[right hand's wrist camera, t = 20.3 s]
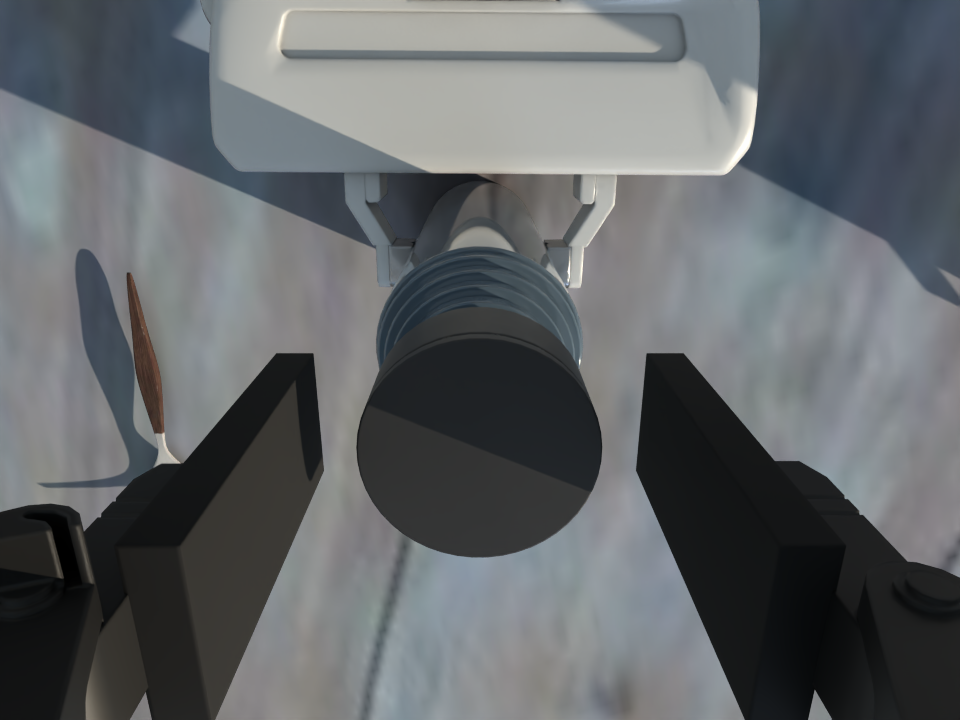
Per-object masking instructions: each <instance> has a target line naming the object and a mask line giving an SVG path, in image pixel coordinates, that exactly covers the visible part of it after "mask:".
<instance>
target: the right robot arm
mask: <svg viewBox="0 0 960 720" xmlns="http://www.w3.org/2000/svg"><path fill="white" fill-rule="evenodd" d="M323 471H324V466H323V455H322V444H321V433H320V421H319V410H318V399H317V388H316V377H315V366H314V355H313V353H276V355H275V356H274V357H273V358H272V359H271V360H270V362H269V363H268V364H267V365H266V366H265V368H264V369H263V370H262V371H261V372H260V373H259V375H258V376H257V377H256V378H255V379H254V381H253V382H252V383H251V384H250V385H249V386H248V388H247V389H246V390H245V391H244V392H243V394H242V395H241V396H240V397H239V398H238V399H237V401H236V402H235V403H234V404H233V405H232V407H231V408H230V409H229V410H228V411H227V412H226V414H225V415H224V416H223V417H222V418H221V420H220V421H219V422H218V423H217V424H216V425H215V427H214V428H213V429H212V430H211V431H210V432H209V434H208V435H207V436H206V437H205V438H204V440H203V441H202V442H201V443H200V444H199V445H198V447H197V448H196V449H195V450H194V451H193V453H192V454H191V455H190V456H189V457H188V458H187V460H186V461H185V462H184V463H161V464H159V465H158V466H156V467H154V468H152V469H151V470H149V471H147V472H146V473H144V474H142V475H140V476H139V477H137V478H135V479H134V480H133V481H132V482H131V483H130V484H129V485H128V486H127V487H126V488H125V489H124V490H123V491H122V492H121V493H120V494H119V495H118V496H117V498H116V502H112V503H111V504H110V505H109V506H108V507H107V508H106V509H105V510H104V511H103V512H102V513H101V518H97V519H96V520H95V521H94V522H93V523H92V524H91V525H90V526H89V527H88V528H87V529H86V530H85V531H83V526H82V522H81V518H80V514H79V513H78V512H76V511H75V510H74V509H72V508H71V507H69V506H63V505H57V504H40V505H28V506H24V507H19V508H15V509H11V510H7V511H3V512H0V720H130V718H131V716H132V715H133V713H134V711H135V709H136V708H137V706H138V704H139V702H140V701H141V699H142V697H143V696H144V694H145V692H146V695H147V699H148V704H149V708H150V713H151V717H152V720H215V719H216V716H217V714H218V712H219V710H220V707H221V705H222V703H223V700H224V698H225V696H226V694H227V691H228V689H229V687H230V684H231V682H232V680H233V678H234V675H235V673H236V671H237V668H238V666H239V664H240V661H241V659H242V657H243V655H244V652H245V650H246V648H247V645H248V643H249V641H250V639H251V636H252V634H253V632H254V629H255V627H256V625H257V623H258V620H259V618H260V616H261V613H262V611H263V609H264V607H265V604H266V602H267V600H268V597H269V595H270V593H271V591H272V588H273V586H274V584H275V581H276V579H277V577H278V575H279V572H280V570H281V568H282V565H283V563H284V561H285V558H286V556H287V554H288V552H289V549H290V547H291V545H292V542H293V540H294V538H295V536H296V533H297V531H298V529H299V526H300V524H301V522H302V520H303V517H304V515H305V513H306V510H307V508H308V506H309V504H310V501H311V499H312V497H313V494H314V492H315V490H316V488H317V485H318V483H319V481H320V478H321V476H322V474H323ZM636 471H637V474H638V476H639V478H640V481H641V483H642V485H643V488H644V490H645V492H646V494H647V497H648V499H649V501H650V504H651V506H652V508H653V510H654V513H655V515H656V517H657V520H658V522H659V524H660V526H661V529H662V531H663V533H664V536H665V538H666V540H667V542H668V545H669V547H670V549H671V552H672V554H673V556H674V558H675V561H676V563H677V565H678V568H679V570H680V572H681V575H682V577H683V579H684V581H685V584H686V586H687V588H688V591H689V593H690V595H691V597H692V600H693V602H694V604H695V607H696V609H697V611H698V613H699V616H700V618H701V620H702V623H703V625H704V627H705V629H706V632H707V634H708V636H709V639H710V641H711V643H712V645H713V648H714V650H715V652H716V655H717V657H718V659H719V661H720V664H721V666H722V668H723V671H724V673H725V675H726V678H727V680H728V682H729V684H730V687H731V689H732V691H733V694H734V696H735V698H736V700H737V703H738V705H739V707H740V710H741V712H742V714H743V716H744V719H745V720H808V717H809V713H810V708H811V704H812V699H813V695H814V690H816V692H817V694H818V696H819V697H820V699H821V701H822V702H823V704H824V706H825V708H826V709H827V711H828V713H829V714H830V716H831V718H832V720H960V578H959V577H957V576H955V575H953V574H951V573H948V572H946V571H944V570H942V569H939V568H935V567H931V566H928V565H924V564H921V563H917V562H907V561H906V560H905V559H904V558H903V556H902V555H901V554H900V553H899V552H898V551H897V550H896V549H895V548H894V547H893V546H892V545H891V544H890V543H889V542H888V541H887V540H886V539H885V538H884V537H883V536H882V534H881V533H880V532H879V531H878V530H877V529H876V528H875V527H874V526H873V525H872V524H871V523H870V522H869V521H868V520H867V519H866V518H865V517H864V516H863V515H859V510H858V509H857V508H856V507H855V506H854V505H853V504H852V503H851V502H850V501H849V500H848V499H845V498H844V495H843V494H842V493H841V491H840V490H839V489H838V488H837V487H836V486H835V485H834V484H833V483H832V482H831V481H830V480H829V479H828V478H827V477H826V476H824V475H822V474H821V473H819V472H817V471H815V470H814V469H812V468H810V467H808V466H807V465H805V464H803V463H801V462H800V461H774V460H773V458H772V457H771V456H770V455H769V454H768V453H767V451H766V450H765V449H764V448H763V447H762V445H761V444H760V443H759V442H758V441H757V440H756V438H755V437H754V436H753V435H752V434H751V432H750V431H749V430H748V429H747V428H746V427H745V425H744V424H743V423H742V422H741V421H740V420H739V418H738V417H737V416H736V415H735V414H734V412H733V411H732V410H731V409H730V408H729V407H728V405H727V404H726V403H725V402H724V401H723V399H722V398H721V397H720V396H719V395H718V394H717V392H716V391H715V390H714V389H713V388H712V386H711V385H710V384H709V383H708V382H707V381H706V379H705V378H704V377H703V376H702V375H701V373H700V372H699V371H698V370H697V369H696V368H695V366H694V365H693V364H692V363H691V362H690V360H689V359H688V358H687V357H686V356H685V355H684V353H647V355H646V366H645V377H644V388H643V399H642V410H641V421H640V433H639V444H638V455H637V466H636Z"/></svg>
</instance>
